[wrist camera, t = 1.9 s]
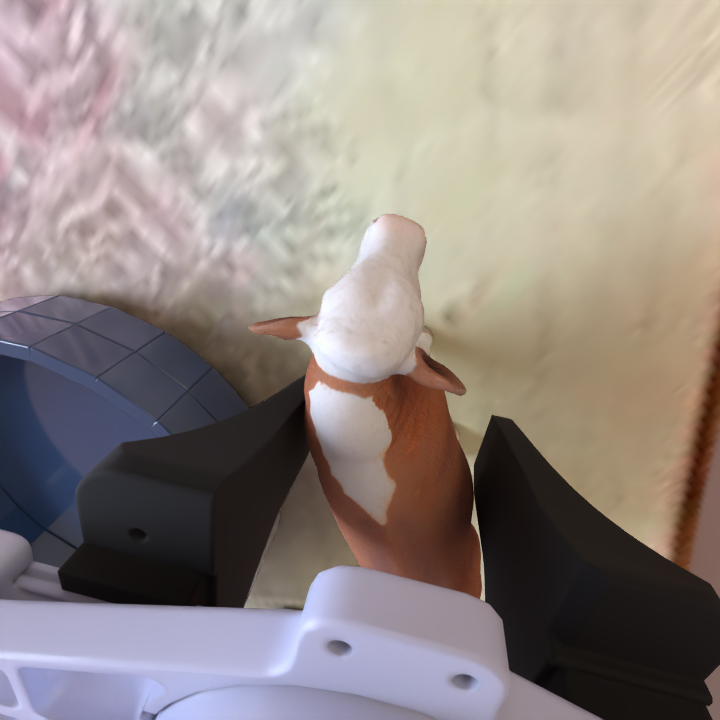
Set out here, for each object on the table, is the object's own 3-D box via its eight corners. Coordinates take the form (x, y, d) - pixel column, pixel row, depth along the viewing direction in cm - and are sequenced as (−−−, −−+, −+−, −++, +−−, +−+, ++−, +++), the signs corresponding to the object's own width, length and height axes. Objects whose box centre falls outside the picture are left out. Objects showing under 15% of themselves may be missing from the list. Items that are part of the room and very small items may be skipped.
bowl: (274, 607, 25) (242, 695, 21) (2, 534, 26) (-77, 604, 22) (301, 339, 17) (258, 398, 13) (-92, 255, 18) (-242, 284, 14)
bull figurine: (442, 183, 14) (455, 220, 6) (473, 504, 19) (499, 723, 12) (311, 207, 14) (189, 264, 7) (377, 507, 20) (345, 711, 13)
